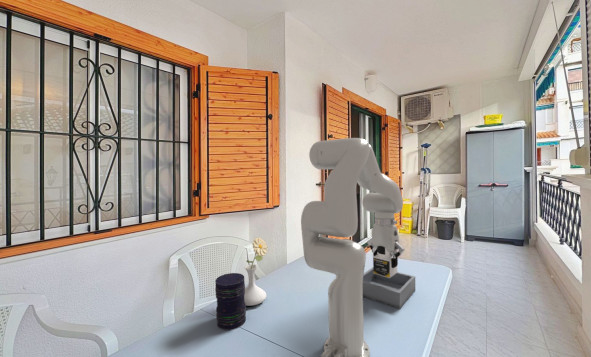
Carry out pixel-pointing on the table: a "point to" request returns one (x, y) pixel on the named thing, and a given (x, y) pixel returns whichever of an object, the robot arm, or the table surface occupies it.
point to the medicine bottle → (383, 263)
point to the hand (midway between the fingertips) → (385, 264)
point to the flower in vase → (253, 292)
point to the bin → (388, 288)
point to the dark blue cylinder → (230, 301)
